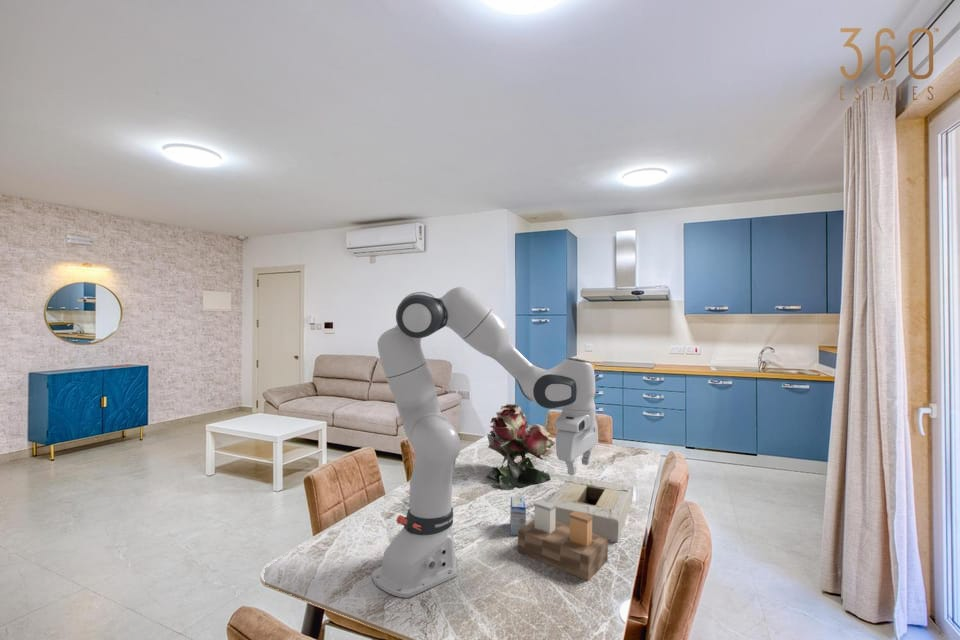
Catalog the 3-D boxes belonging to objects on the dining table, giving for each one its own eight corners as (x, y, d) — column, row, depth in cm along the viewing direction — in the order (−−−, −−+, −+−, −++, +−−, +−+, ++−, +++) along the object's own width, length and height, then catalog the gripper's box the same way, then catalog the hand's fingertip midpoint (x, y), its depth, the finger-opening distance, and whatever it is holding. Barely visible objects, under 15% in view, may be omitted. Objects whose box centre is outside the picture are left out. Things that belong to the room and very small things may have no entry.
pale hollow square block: (619, 545, 127) (633, 504, 155) (619, 519, 127) (633, 482, 155) (543, 529, 137) (568, 493, 165) (543, 504, 137) (568, 472, 166)
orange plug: (587, 560, 113) (587, 520, 113) (568, 553, 116) (569, 514, 116) (592, 555, 115) (592, 516, 115) (574, 549, 118) (574, 510, 118)
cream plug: (549, 546, 120) (550, 508, 120) (533, 540, 123) (534, 503, 123) (555, 542, 122) (556, 504, 122) (539, 536, 125) (540, 499, 125)
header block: (588, 580, 108) (588, 556, 108) (517, 551, 121) (518, 530, 121) (607, 560, 117) (607, 538, 117) (540, 535, 130) (540, 515, 130)
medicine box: (510, 523, 138) (510, 496, 138) (524, 523, 138) (524, 496, 138) (511, 535, 130) (511, 506, 130) (526, 536, 130) (526, 507, 130)
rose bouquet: (561, 478, 180) (562, 405, 180) (505, 493, 163) (506, 413, 163) (521, 461, 201) (522, 396, 201) (468, 473, 184) (469, 402, 185)
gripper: (582, 409, 128) (583, 456, 128) (551, 423, 111) (551, 477, 111) (603, 412, 124) (604, 460, 124) (574, 427, 107) (574, 483, 107)
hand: (579, 469), depth 117 cm, fingers open, 8 cm apart
